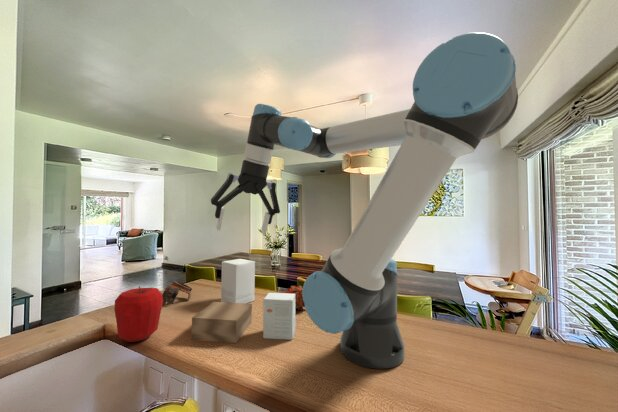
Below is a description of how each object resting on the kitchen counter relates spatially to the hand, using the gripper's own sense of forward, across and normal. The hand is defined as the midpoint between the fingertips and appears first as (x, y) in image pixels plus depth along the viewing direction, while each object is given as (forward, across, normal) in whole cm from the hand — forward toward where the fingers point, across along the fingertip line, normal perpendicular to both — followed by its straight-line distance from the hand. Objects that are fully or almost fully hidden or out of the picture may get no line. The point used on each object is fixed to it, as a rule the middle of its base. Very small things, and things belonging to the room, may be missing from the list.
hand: (241, 231), depth 77 cm
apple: (+30, +22, +6) cm, 38 cm away
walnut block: (+26, +2, +11) cm, 28 cm away
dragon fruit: (+25, -23, +4) cm, 34 cm away
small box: (+22, -11, +19) cm, 31 cm away
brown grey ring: (+37, +13, -19) cm, 43 cm away
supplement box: (+32, -7, -10) cm, 34 cm away
